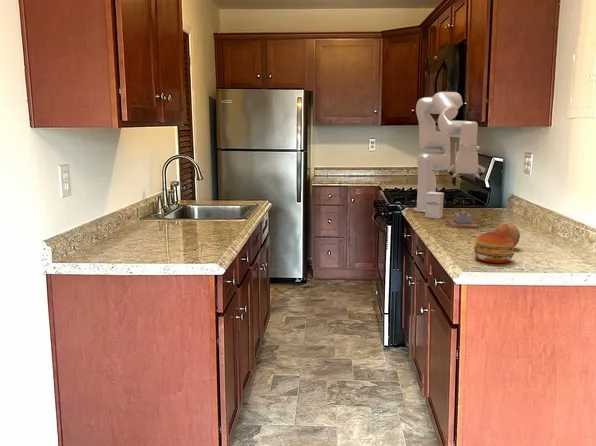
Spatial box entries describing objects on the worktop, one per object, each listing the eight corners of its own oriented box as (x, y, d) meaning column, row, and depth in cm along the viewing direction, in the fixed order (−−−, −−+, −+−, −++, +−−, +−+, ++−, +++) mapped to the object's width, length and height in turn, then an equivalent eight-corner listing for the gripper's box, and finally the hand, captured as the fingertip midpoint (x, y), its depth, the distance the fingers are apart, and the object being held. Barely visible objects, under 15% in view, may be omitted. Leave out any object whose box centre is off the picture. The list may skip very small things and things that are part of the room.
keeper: (446, 221, 267) (447, 208, 266) (472, 222, 265) (473, 208, 264) (451, 227, 251) (452, 213, 250) (479, 228, 250) (480, 214, 249)
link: (454, 221, 263) (454, 212, 262) (468, 221, 262) (468, 213, 261) (456, 224, 255) (457, 215, 254) (471, 224, 254) (471, 215, 253)
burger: (498, 267, 183) (500, 238, 181) (464, 259, 194) (466, 231, 192) (521, 262, 191) (523, 233, 189) (487, 254, 201) (489, 227, 200)
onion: (496, 244, 217) (498, 219, 216) (522, 248, 211) (524, 222, 209) (487, 248, 210) (489, 222, 208) (514, 252, 204) (516, 226, 202)
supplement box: (424, 217, 277) (425, 192, 274) (428, 215, 283) (429, 191, 281) (439, 219, 273) (440, 193, 271) (442, 216, 280) (444, 192, 277)
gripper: (485, 148, 255) (482, 185, 258) (447, 148, 257) (444, 184, 260) (488, 149, 248) (485, 187, 251) (449, 148, 250) (446, 186, 253)
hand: (464, 185), depth 255 cm, fingers open, 9 cm apart
